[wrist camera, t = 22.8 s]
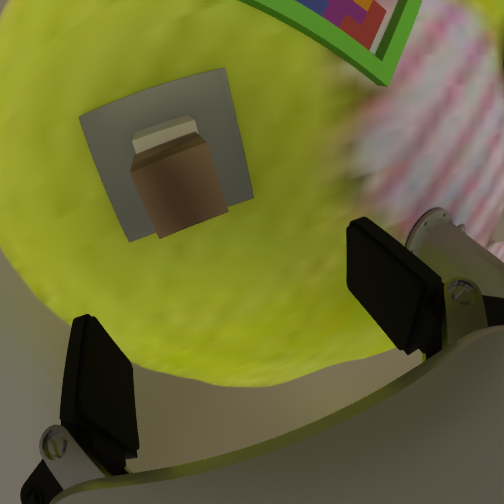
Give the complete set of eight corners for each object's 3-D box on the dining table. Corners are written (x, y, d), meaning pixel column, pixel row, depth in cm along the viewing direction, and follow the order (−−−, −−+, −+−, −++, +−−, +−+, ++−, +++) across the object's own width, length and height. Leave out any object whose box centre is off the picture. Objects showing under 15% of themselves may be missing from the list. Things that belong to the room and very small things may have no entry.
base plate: (222, 68, 24) (224, 67, 23) (250, 194, 32) (254, 197, 31) (81, 116, 22) (78, 117, 21) (129, 238, 30) (129, 242, 29)
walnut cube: (195, 131, 21) (207, 142, 17) (213, 187, 24) (228, 211, 20) (134, 155, 20) (130, 172, 16) (156, 210, 23) (159, 239, 19)
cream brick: (187, 114, 24) (194, 120, 20) (205, 181, 28) (215, 199, 24) (135, 131, 24) (131, 140, 20) (157, 198, 28) (159, 219, 24)
